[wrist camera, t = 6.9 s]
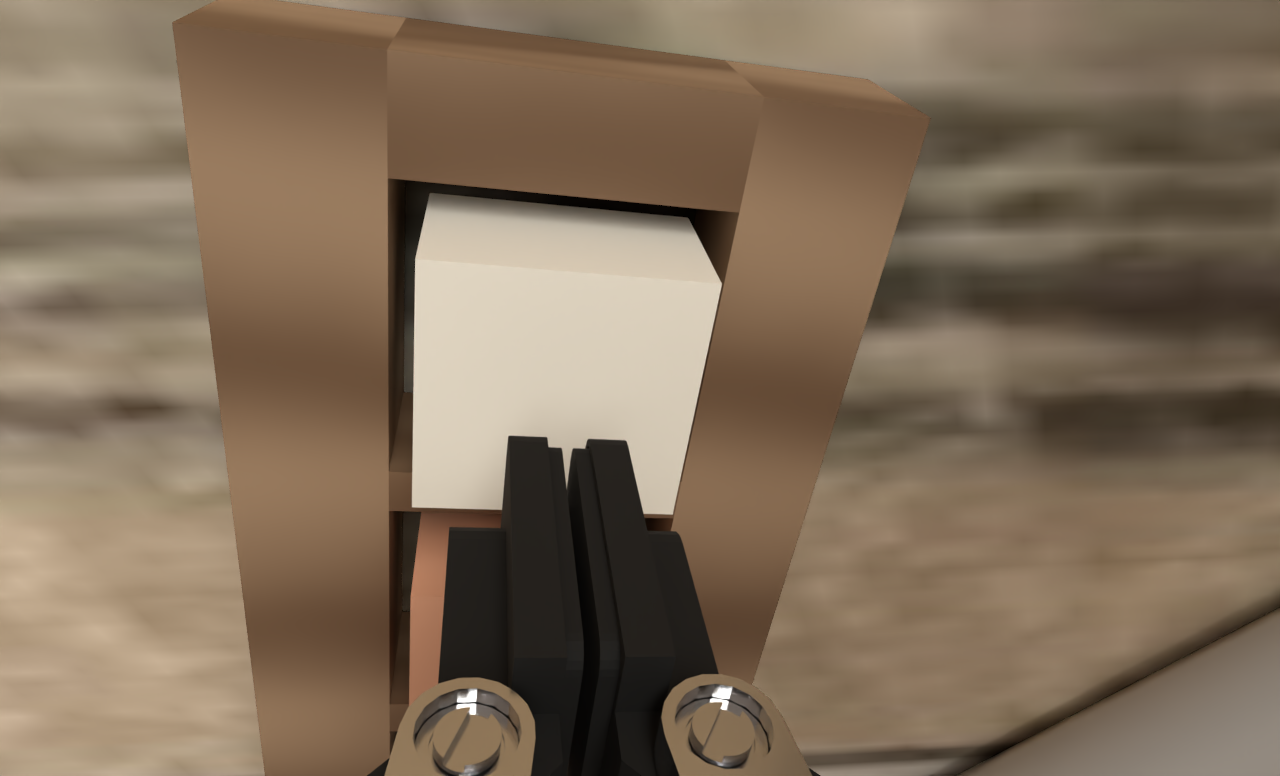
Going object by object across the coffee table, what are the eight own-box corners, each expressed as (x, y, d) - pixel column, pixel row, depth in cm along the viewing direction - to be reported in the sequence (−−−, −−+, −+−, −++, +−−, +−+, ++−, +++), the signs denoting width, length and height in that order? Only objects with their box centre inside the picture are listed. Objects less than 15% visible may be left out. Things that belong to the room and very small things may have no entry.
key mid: (422, 497, 19) (410, 596, 16) (635, 504, 20) (654, 598, 17) (419, 648, 21) (408, 754, 19) (609, 647, 22) (622, 748, 20)
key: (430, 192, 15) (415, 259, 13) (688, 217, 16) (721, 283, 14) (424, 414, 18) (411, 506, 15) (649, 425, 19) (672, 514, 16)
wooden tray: (228, -6, 15) (172, 22, 12) (868, 79, 17) (930, 118, 15) (302, 814, 27) (282, 913, 25) (671, 800, 29) (687, 889, 27)
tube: (947, 975, 31) (1692, 635, 25) (903, 987, 27) (1775, 587, 21) (875, 823, 34) (1517, 493, 29) (827, 814, 30) (1560, 429, 25)
